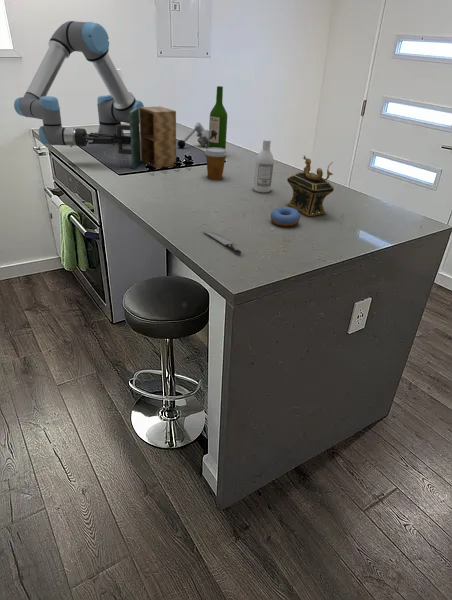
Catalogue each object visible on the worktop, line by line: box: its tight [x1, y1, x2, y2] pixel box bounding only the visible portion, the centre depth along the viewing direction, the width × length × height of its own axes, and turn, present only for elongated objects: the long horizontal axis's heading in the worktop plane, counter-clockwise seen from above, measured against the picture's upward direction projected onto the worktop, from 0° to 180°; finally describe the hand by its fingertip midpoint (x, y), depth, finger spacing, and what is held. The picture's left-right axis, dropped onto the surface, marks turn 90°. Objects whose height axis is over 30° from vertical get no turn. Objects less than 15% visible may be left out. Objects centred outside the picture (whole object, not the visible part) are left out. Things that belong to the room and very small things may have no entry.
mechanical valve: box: [177, 122, 209, 149], centre depth 239 cm, size 10×18×15 cm
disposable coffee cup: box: [204, 147, 228, 181], centre depth 187 cm, size 10×10×12 cm
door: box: [117, 108, 142, 170], centre depth 195 cm, size 7×14×24 cm, turn 178°
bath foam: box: [253, 138, 274, 194], centre depth 173 cm, size 7×7×20 cm
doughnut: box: [270, 206, 301, 227], centre depth 147 cm, size 10×10×5 cm
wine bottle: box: [208, 85, 228, 150], centre depth 218 cm, size 9×9×32 cm
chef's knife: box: [204, 231, 242, 255], centre depth 131 cm, size 19×1×3 cm
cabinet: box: [139, 105, 177, 169], centre depth 199 cm, size 11×14×24 cm
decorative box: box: [286, 155, 335, 217], centre depth 155 cm, size 20×10×20 cm, turn 28°
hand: (129, 140), depth 191 cm, fingers closed on door, 2 cm apart
